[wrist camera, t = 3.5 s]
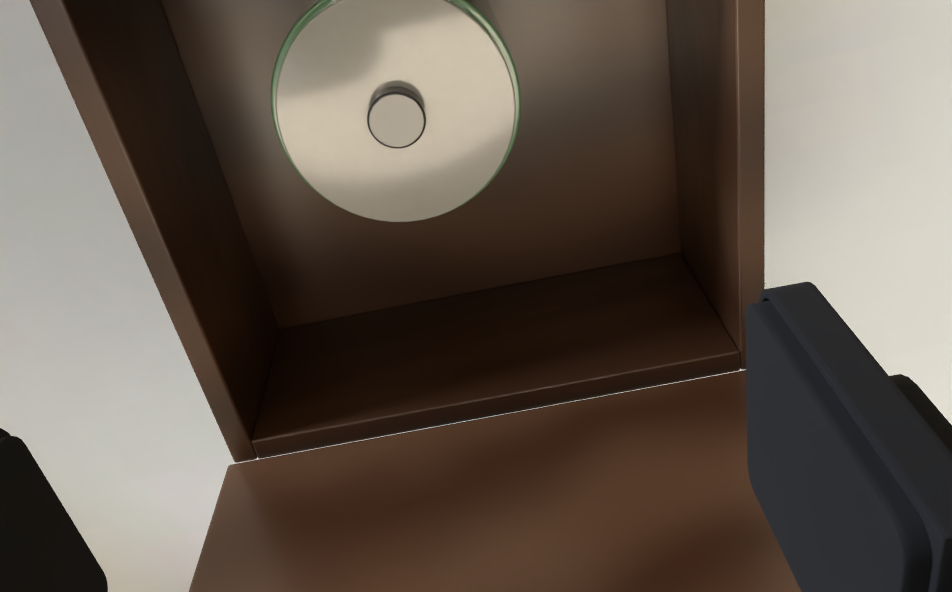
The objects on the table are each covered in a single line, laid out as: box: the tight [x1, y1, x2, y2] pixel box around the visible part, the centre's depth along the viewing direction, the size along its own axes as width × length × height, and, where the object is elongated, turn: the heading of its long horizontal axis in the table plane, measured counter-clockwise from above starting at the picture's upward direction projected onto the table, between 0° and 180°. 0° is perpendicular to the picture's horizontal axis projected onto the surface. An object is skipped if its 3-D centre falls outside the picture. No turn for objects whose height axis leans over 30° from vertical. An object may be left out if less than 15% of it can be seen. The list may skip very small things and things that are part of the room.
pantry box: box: [30, 0, 765, 462], centre depth 26 cm, size 16×18×8 cm
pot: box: [270, 0, 521, 222], centre depth 25 cm, size 7×7×6 cm
